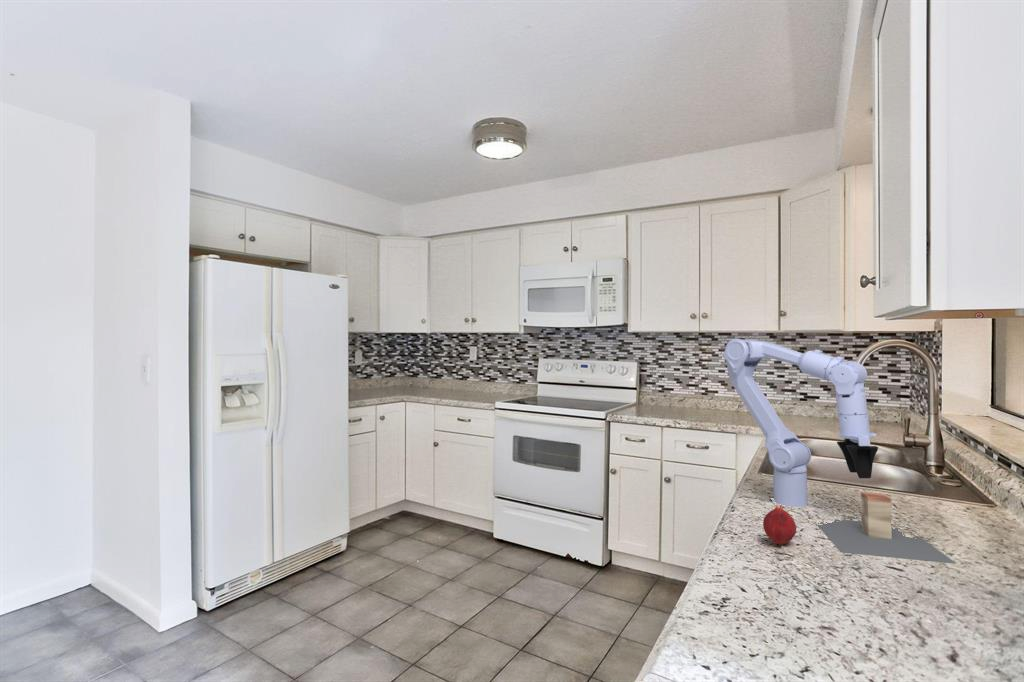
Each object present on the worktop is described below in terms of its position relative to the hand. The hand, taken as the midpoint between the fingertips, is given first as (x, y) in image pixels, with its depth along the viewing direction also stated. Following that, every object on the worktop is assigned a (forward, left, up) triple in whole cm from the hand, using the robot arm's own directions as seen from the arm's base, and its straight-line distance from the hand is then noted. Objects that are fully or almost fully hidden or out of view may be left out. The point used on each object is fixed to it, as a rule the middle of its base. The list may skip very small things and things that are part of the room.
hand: (859, 475), depth 116 cm
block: (+10, 0, -10) cm, 14 cm away
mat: (+12, -1, -11) cm, 16 cm away
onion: (+21, -20, -11) cm, 31 cm away
